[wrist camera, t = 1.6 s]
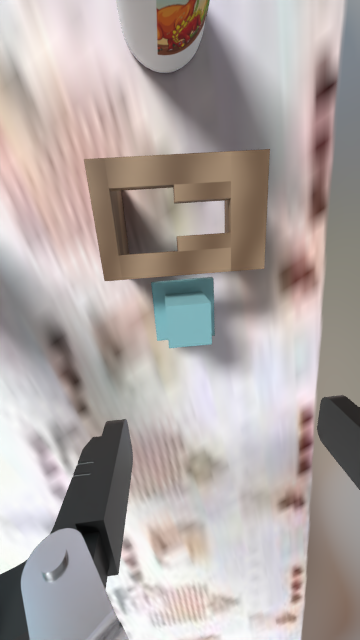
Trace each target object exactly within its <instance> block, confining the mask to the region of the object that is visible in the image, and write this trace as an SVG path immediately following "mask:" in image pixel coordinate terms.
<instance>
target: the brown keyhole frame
mask: <svg viewBox="0 0 360 640" xmlns="http://www.w3.org/2000/svg"><path fill="white" fill-rule="evenodd" d="M269 155H270V149H264V150H246V151H227V152H209V153H190V154H171V155H153V156H134V157H115V158H97V159H84V163H85V169H86V175H87V181H88V186H89V192H90V198H91V204H92V210H93V216H94V222H95V228H96V233H97V239H98V245H99V251H100V257H101V263H102V269H103V274H104V280H105V281H114V280H126V279H139V278H152V277H164V276H177V275H190V274H202V273H215V272H228V271H241V270H253V269H264V262H265V241H266V219H267V198H268V176H269ZM170 187H173V189H174V204H175V203H191V202H206V201H222V200H225V233H219V234H204V235H190V236H177V248H178V251H170V252H156V253H143V254H129V247H128V240H127V232H126V225H125V217H124V209H123V202H122V194H121V190H137V189H154V188H170Z"/></svg>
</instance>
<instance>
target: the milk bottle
mask: <svg viewBox="0 0 360 640" xmlns="http://www.w3.org/2000/svg"><path fill="white" fill-rule="evenodd" d="M209 1H210V0H116V5H117V10H118V15H119V20H120V24H121V28H122V32H123V36H124V38H125V41H126V43H127V45H128V47H129V49H130V50H131V52H132V53H133V55H134V56H135V57H136V58H137V60H138V61H140V62H141V63H142V64H143V65H144V66H145V67H147V68H149V69H151V70H152V71H156V72H159V73H169V72H174V71H176V70H178V69H180V68H182V67H183V66H184V65H186V64H187V63H188V62H189V61H190V60H191V59H192V57H193V56H194V54H195V53H196V51H197V49H198V47H199V44H200V42H201V38H202V34H203V30H204V26H205V21H206V16H207V11H208V6H209Z"/></svg>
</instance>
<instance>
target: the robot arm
mask: <svg viewBox="0 0 360 640" xmlns="http://www.w3.org/2000/svg"><path fill="white" fill-rule="evenodd" d="M317 430H318V435H319V437H320V440H321V441H322V443H323V444H324V445H325V447H326V448H327V449H328V451H329V452H330V453H331V455H332V456H333V457H334V458H335V460H336V461H337V462H338V463H339V465H340V466H341V467H342V468H343V469H344V471H345V472H346V473H347V474H348V476H349V477H350V478H351V480H352V481H353V482H354V483H355V485H356V486H357V487H358V488H359V490H360V407H358V406H357V405H355V404H354V403H353V402H352V401H351V400H350V399H348V398H347V397H346V396H343V395H341V396H331V397H324V398H322V400H321V404H320V411H319V418H318V426H317ZM132 464H133V453H132V445H131V440H130V434H129V429H128V423H127V420H126V419H123V420H115V421H107V422H106V424H105V427H104V430H103V434H102V436H100V437H93V438H92V439H91V440H90V441H89V442H88V444H87V445H86V446H85V447H84V449H83V450H82V453H81V456H80V458H79V461H78V466H76V469H75V472H74V474H73V478H72V480H71V482H70V485H69V488H68V490H67V493H66V496H65V498H64V501H63V504H62V506H61V509H60V512H59V514H58V517H57V519H56V522H55V525H54V527H53V529H52V532H51V533H50V535H49V536H47V537H46V538H45V539H44V540H43V541H42V542H41V543H40V544H39V545H38V546H37V547H36V548H35V549H34V551H33V552H32V554H31V555H30V557H29V558H28V559H27V560H26V561H25V562H23V563H22V564H20V565H18V566H16V567H15V568H13V569H11V570H9V571H7V572H5V573H2V574H0V640H129V639H128V637H127V635H126V633H125V630H124V628H123V626H122V624H121V623H120V622H119V620H118V618H117V616H116V614H115V611H114V609H113V607H112V604H111V602H110V600H109V597H108V595H107V593H106V590H105V589H106V582H107V576H112V575H118V573H119V565H120V558H121V550H122V542H123V534H124V527H125V519H126V511H127V504H128V496H129V488H130V480H131V473H132Z"/></svg>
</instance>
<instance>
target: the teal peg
mask: <svg viewBox="0 0 360 640" xmlns="http://www.w3.org/2000/svg"><path fill="white" fill-rule="evenodd" d="M151 285H152V295H153V304H154V314H155V323H156V332H157V341H160V340H169V348H177V347H188V346H198V345H209V344H212V336H215V331H214V285H213V278H212V277H207V278H195V279H182V280H169V281H157V282H151Z"/></svg>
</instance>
